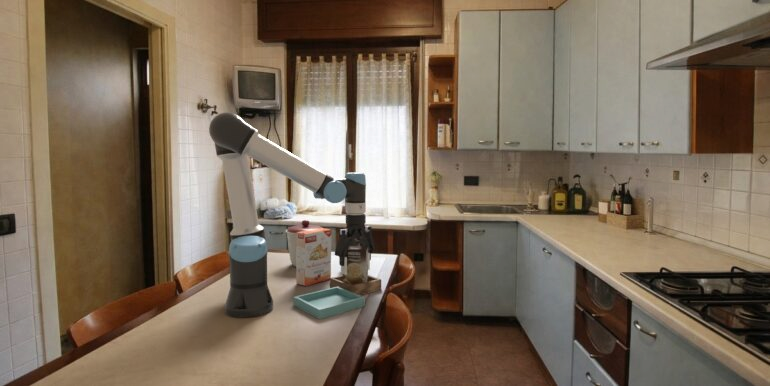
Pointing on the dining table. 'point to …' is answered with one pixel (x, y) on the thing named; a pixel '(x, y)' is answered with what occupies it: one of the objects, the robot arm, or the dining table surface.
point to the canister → (292, 237)
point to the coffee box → (356, 265)
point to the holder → (357, 285)
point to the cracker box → (313, 256)
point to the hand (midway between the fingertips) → (355, 271)
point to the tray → (329, 302)
